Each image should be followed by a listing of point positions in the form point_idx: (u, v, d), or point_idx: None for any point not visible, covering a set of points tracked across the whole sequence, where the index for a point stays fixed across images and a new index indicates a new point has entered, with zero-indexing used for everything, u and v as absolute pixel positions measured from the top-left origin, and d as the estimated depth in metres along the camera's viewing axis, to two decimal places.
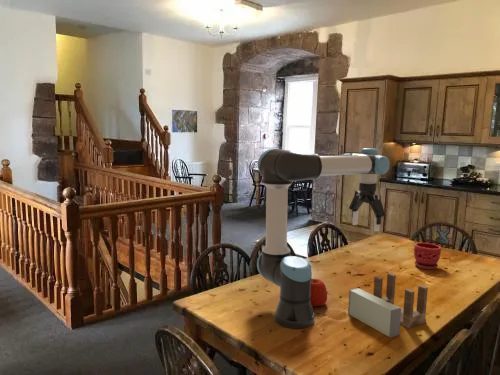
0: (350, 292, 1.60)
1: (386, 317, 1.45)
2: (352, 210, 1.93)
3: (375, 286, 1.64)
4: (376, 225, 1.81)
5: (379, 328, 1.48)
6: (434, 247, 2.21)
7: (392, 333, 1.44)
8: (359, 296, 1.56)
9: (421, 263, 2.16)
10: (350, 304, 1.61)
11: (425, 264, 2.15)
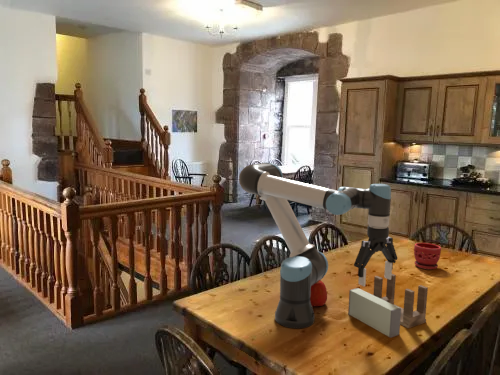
0: (350, 292, 1.60)
1: (386, 317, 1.45)
2: None
3: (375, 286, 1.64)
4: (360, 277, 1.49)
5: (379, 328, 1.48)
6: (434, 247, 2.21)
7: (392, 333, 1.44)
8: (359, 296, 1.56)
9: (421, 263, 2.16)
10: (350, 304, 1.61)
11: (425, 264, 2.15)
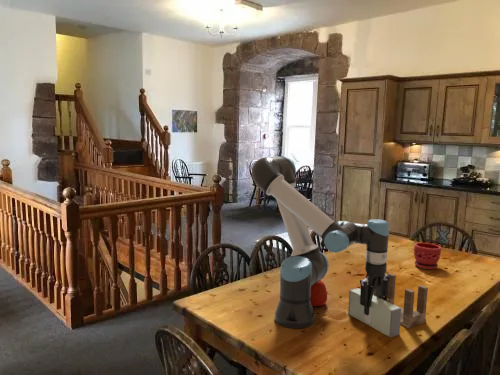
0: (350, 292, 1.60)
1: (386, 317, 1.45)
2: None
3: None
4: (366, 314, 1.53)
5: (379, 328, 1.48)
6: (434, 247, 2.21)
7: (392, 333, 1.44)
8: (359, 296, 1.56)
9: (421, 263, 2.16)
10: (350, 304, 1.61)
11: (425, 264, 2.15)
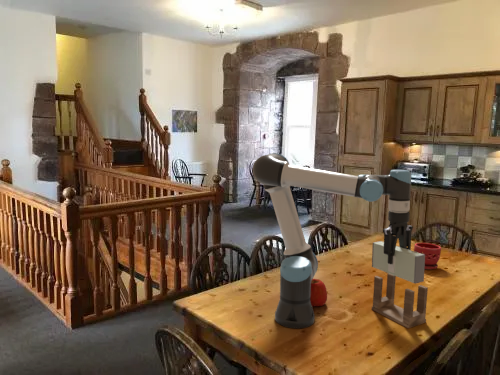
0: (373, 244, 1.63)
1: (410, 264, 1.47)
2: None
3: (375, 286, 1.64)
4: (389, 264, 1.55)
5: (403, 276, 1.50)
6: (434, 247, 2.21)
7: (417, 279, 1.46)
8: (382, 247, 1.58)
9: None
10: (373, 257, 1.63)
11: (425, 264, 2.15)
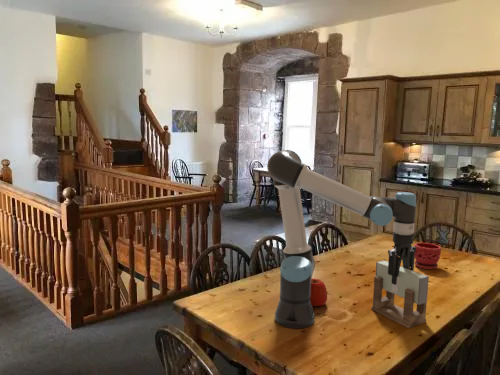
0: (377, 264, 1.66)
1: (414, 285, 1.51)
2: None
3: (375, 286, 1.64)
4: (393, 284, 1.58)
5: None
6: (434, 247, 2.21)
7: (420, 300, 1.50)
8: (386, 267, 1.62)
9: (421, 263, 2.16)
10: None
11: (425, 264, 2.15)
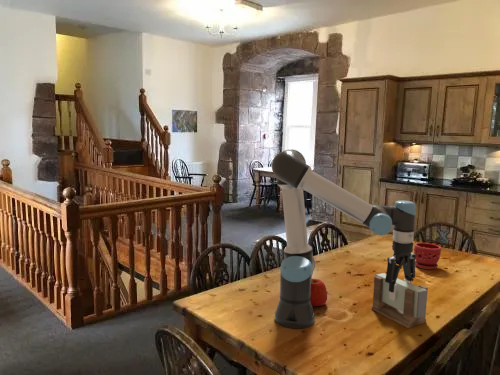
0: None
1: None
2: (405, 277, 1.62)
3: (375, 286, 1.64)
4: (390, 292, 1.58)
5: None
6: (434, 247, 2.21)
7: (419, 314, 1.51)
8: None
9: (421, 263, 2.16)
10: None
11: (425, 264, 2.15)
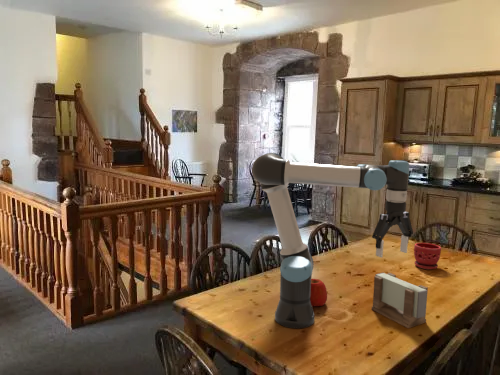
0: None
1: None
2: None
3: (375, 286, 1.64)
4: (377, 248, 1.56)
5: None
6: (434, 247, 2.21)
7: (419, 314, 1.51)
8: (385, 280, 1.62)
9: (421, 263, 2.16)
10: None
11: (425, 264, 2.15)
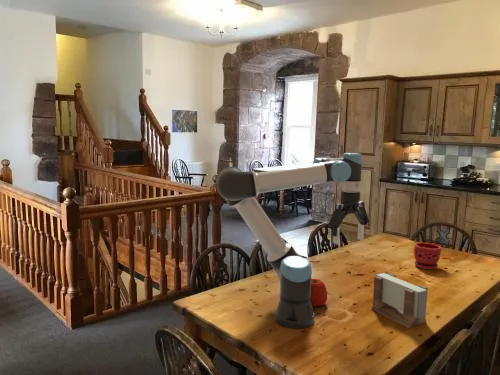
0: None
1: None
2: (360, 222, 1.73)
3: (375, 286, 1.64)
4: (334, 236, 1.65)
5: None
6: (434, 247, 2.21)
7: (419, 314, 1.51)
8: (385, 280, 1.62)
9: (421, 263, 2.16)
10: None
11: (425, 264, 2.15)
